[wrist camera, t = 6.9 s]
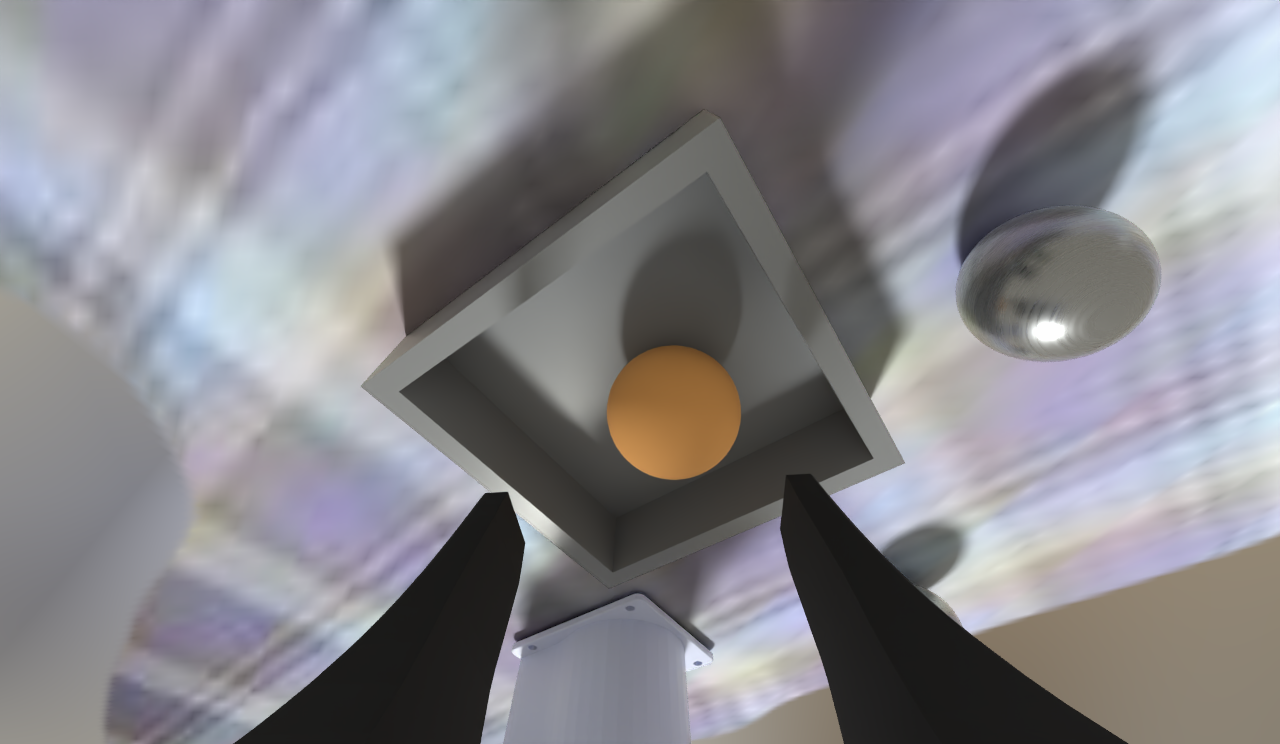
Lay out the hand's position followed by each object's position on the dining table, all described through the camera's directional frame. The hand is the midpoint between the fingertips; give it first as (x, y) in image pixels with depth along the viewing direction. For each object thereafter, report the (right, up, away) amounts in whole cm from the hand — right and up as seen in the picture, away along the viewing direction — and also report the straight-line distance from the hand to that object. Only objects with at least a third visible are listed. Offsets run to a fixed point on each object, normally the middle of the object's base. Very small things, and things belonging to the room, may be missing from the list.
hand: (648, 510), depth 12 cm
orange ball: (+1, +2, +3) cm, 4 cm away
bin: (0, +4, +6) cm, 7 cm away
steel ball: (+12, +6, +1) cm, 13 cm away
